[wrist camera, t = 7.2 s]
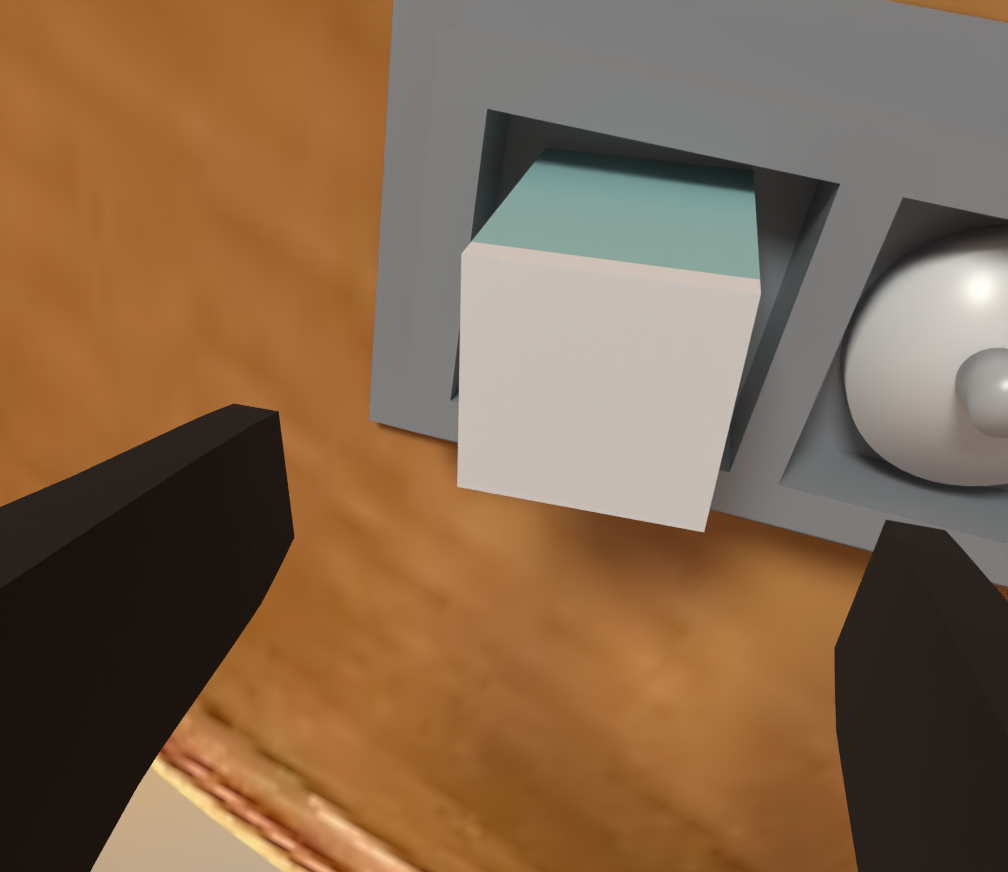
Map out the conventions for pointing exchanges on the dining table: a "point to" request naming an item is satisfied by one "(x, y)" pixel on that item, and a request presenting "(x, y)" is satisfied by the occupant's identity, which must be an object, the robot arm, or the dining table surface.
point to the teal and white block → (608, 335)
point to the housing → (780, 227)
